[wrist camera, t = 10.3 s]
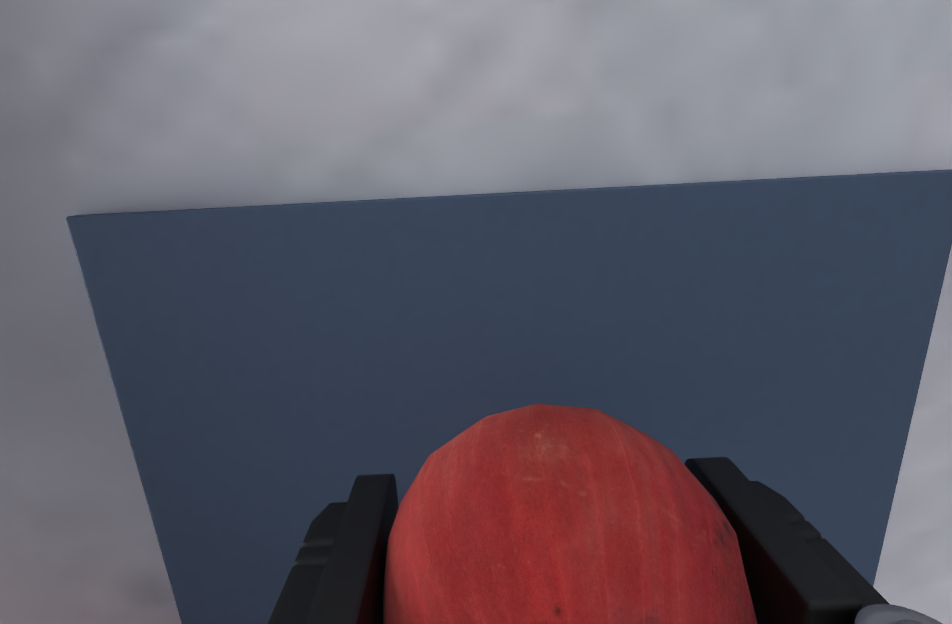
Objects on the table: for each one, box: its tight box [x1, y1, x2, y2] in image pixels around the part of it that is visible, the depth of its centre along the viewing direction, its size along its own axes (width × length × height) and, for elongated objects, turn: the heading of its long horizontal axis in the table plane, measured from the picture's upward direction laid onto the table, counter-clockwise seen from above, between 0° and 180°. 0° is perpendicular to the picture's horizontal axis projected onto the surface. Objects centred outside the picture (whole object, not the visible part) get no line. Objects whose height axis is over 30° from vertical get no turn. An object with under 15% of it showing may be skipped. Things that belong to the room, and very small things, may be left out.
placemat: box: [66, 170, 952, 624], centre depth 13 cm, size 12×20×1 cm, turn 93°
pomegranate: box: [383, 404, 758, 624], centre depth 8 cm, size 6×6×8 cm
